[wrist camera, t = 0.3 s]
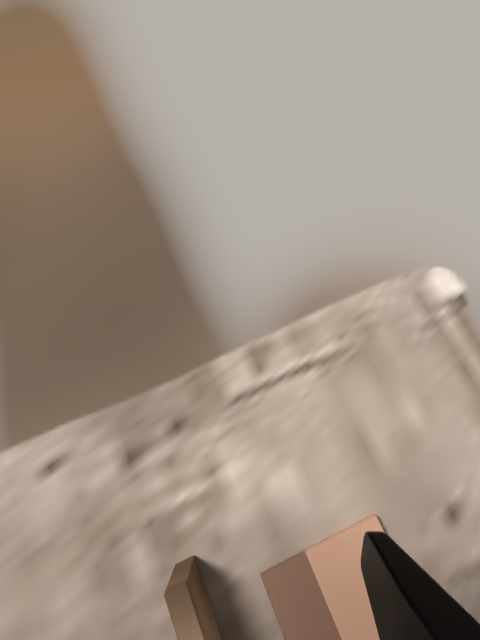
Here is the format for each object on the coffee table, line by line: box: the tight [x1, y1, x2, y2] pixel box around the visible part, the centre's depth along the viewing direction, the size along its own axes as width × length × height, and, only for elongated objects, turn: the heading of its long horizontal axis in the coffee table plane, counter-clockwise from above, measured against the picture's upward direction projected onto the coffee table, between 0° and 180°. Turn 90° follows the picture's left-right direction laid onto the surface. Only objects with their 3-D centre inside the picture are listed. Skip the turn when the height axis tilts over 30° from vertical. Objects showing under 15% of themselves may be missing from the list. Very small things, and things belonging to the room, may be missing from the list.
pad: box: [261, 515, 385, 640], centre depth 18 cm, size 7×8×1 cm
